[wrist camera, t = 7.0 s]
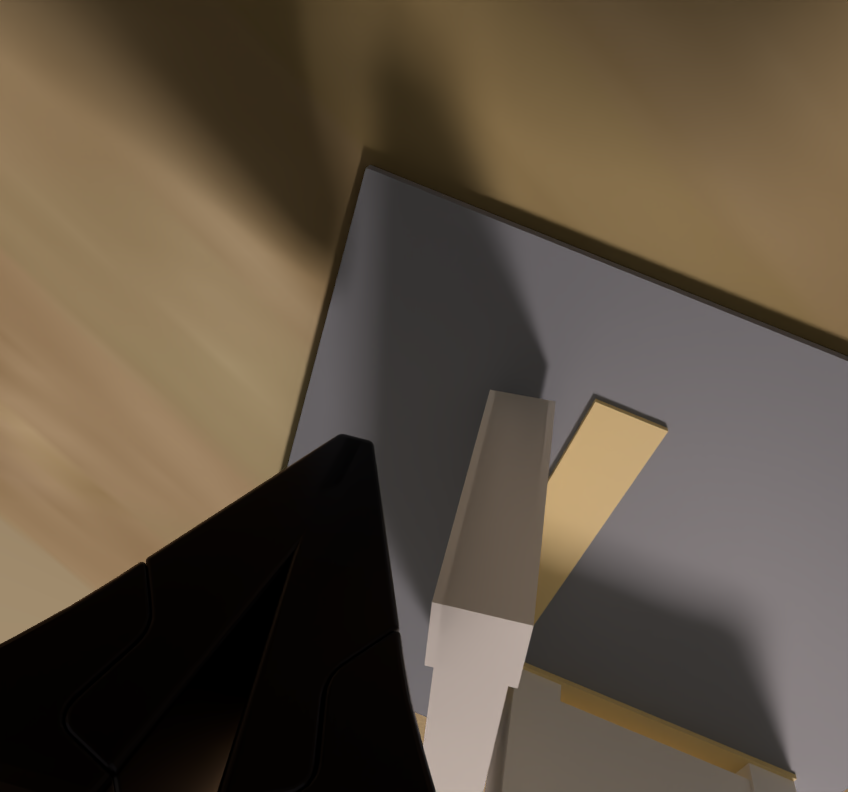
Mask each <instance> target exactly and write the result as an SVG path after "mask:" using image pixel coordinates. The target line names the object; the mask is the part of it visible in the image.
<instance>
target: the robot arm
mask: <svg viewBox="0 0 848 792" xmlns="http://www.w3.org/2000/svg"><path fill="white" fill-rule="evenodd" d="M399 629H400V627H399V620H398V613H397V606H396V599H395V592H394V584H393V577H392V570H391V563H390V556H389V549H388V542H387V535H386V527H385V520H384V513H383V506H382V499H381V492H380V485H379V478H378V470H377V463H376V456H375V449H374V444H373V443H372V442H371V441H370V440H366V439H362V438H358V437H354V436H351V435H347V434H339V435H337V436H335V437H334V438H332V439H330V440H329V441H327V442H326V443H324V444H323V445H321V446H320V447H318V448H317V449H315V450H313V451H312V452H310V453H309V454H307V455H306V456H304V457H303V458H301V459H299V460H298V461H296V462H295V463H293V464H292V465H290V466H289V467H287V468H286V469H284V470H282V471H281V472H279V473H278V474H276V475H275V476H273V477H272V478H270V479H269V480H267V481H265V482H264V483H262V484H261V485H259V486H258V487H256V488H255V489H253V490H252V491H250V492H248V493H247V494H245V495H244V496H242V497H241V498H239V499H238V500H236V501H235V502H233V503H231V504H230V505H228V506H227V507H225V508H224V509H222V510H221V511H219V512H218V513H216V514H214V515H213V516H211V517H210V518H208V519H207V520H205V521H204V522H202V523H201V524H199V525H197V526H196V527H194V528H193V529H191V530H190V531H188V532H187V533H185V534H184V535H182V536H180V537H179V538H177V539H176V540H174V541H173V542H171V543H170V544H168V545H166V546H165V547H163V548H162V549H160V550H159V551H157V552H156V553H154V554H153V555H151V556H149V557H148V558H147V559H146V564H145V563H144V562H140V563H138V564H137V565H135V566H134V567H132V568H130V569H129V570H127V571H126V572H124V573H123V574H121V575H120V576H118V577H117V578H115V579H113V580H112V581H110V582H108V583H107V584H105V585H104V586H102V587H100V588H99V589H97V590H95V591H94V592H92V593H91V594H89V595H87V596H86V597H84V598H82V599H81V600H79V601H78V602H76V603H74V604H73V605H71V606H69V607H68V608H66V609H64V610H62V611H60V612H58V613H56V614H55V615H53V616H51V617H49V618H47V619H46V620H44V621H42V622H40V623H38V624H37V625H35V626H33V627H31V628H29V629H27V630H26V631H24V632H22V633H20V634H18V635H17V636H15V637H13V638H11V639H9V640H7V641H5V642H3V643H1V644H0V792H436V790H435V787H434V783H433V780H432V776H431V773H430V769H429V766H428V762H427V759H426V755H425V752H424V748H423V744H422V740H421V736H420V732H419V728H418V724H417V720H416V716H415V712H414V708H413V704H412V699H411V694H410V688H409V682H408V677H407V671H406V666H405V660H404V653H403V646H402V639H401V634H400V633H399Z"/></svg>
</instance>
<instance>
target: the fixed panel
mask: <svg viewBox="0 0 848 792" xmlns="http://www.w3.org/2000/svg"><path fill="white" fill-rule="evenodd" d="M560 697H561V685H560V684H558V683H555V682H553V681H550V680H548V679H545V678H543V677H541V676H538V675H536V674H533V673H531V672H529V671H526V670H524V669H523V670H522V674H521V678H520V682H519V686H518V689H517V688H513V687H509V686H508V689H507V693H506V698H505V702H504V706H503V710H502V714H501V719H500V723H499V727H498V731H497V735H496V740H495V744H494V748H493V752H492V756H491V761H490V765H489V769H488V774H487V781H486V788H485V792H796V788H795V784H794V781H791V780H789V779H787V778H784V777H782V776H779V775H777V774H775V773H772V772H770V771H767V770H765V769H762V768H760V767H758V766H755V765H753V764H750V763H748V764H747V765H746V766H744V767H743V768H742V769H740V770H739V771H738V772H737V773H735V774H734V773H732V772H730V771H727V770H725V769H722V768H720V767H718V766H715V765H713V764H710V763H708V762H706V761H703V760H701V759H698V758H696V757H694V756H691V755H689V754H686V753H684V752H682V751H679V750H677V749H674V748H672V747H669V746H667V745H665V744H662V743H660V742H657V741H655V740H653V739H650V738H648V737H645V736H643V735H641V734H638V733H636V732H633V731H631V730H629V729H626V728H624V727H621V726H619V725H616V724H614V723H612V722H609V721H607V720H604V719H602V718H600V717H597V716H595V715H592V714H590V713H588V712H585V711H583V710H580V709H578V708H576V707H573V706H571V705H568V704H566V703H564V702H561V701H560Z"/></svg>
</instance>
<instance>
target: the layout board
mask: <svg viewBox="0 0 848 792" xmlns="http://www.w3.org/2000/svg"><path fill="white" fill-rule="evenodd" d="M490 390H495V391H501V392H506V393H512V394H517V395H523V396H528V397H534V398H539V399H545V400H551V401H556V402H555V412H554V422H553V433H552V443H551V453H550V463H549V473H548V484H547V494H546V504H545V514H544V524H543V535H542V545H541V555H540V565H539V575H538V586H537V596H536V606H535V616H534V626H533V630H532V634H531V638H530V642H529V646H528V650H527V654H526V658H525V662H524V666H523V669H524V670H526V671H529V672H531V673H533V674H536V675H538V676H541V677H543V678H545V679H548V680H550V681H553V682H555V683H558V684H560V685H561V697H560V701H561V702H564V703H566V704H568V705H571V706H573V707H576V708H578V709H580V710H583V711H585V712H588V713H590V714H592V715H595V716H597V717H600V718H602V719H604V720H607V721H609V722H612V723H614V724H616V725H619V726H621V727H624V728H626V729H629V730H631V731H633V732H636V733H638V734H641V735H643V736H645V737H648V738H650V739H653V740H655V741H657V742H660V743H662V744H665V745H667V746H669V747H672V748H674V749H677V750H679V751H682V752H684V753H686V754H689V755H691V756H694V757H696V758H698V759H701V760H703V761H706V762H708V763H710V764H713V765H715V766H718V767H720V768H722V769H725V770H727V771H730V772H732V773H734V774H735V773H737V772H738V771H739V770H740V769H742V768H743V767H744V766H746V765H747V764H748V763H750V764H753V765H755V766H758V767H760V768H762V769H765V770H767V771H770V772H772V773H775V774H777V775H779V776H782V777H784V778H787V779H789V780H791V781H794V784H795V788H796V792H843V791H845V790H846V789H848V356H845V355H843V354H840V353H838V352H835V351H833V350H830V349H828V348H826V347H823V346H821V345H818V344H816V343H813V342H811V341H808V340H806V339H803V338H801V337H798V336H796V335H793V334H791V333H788V332H786V331H783V330H781V329H778V328H776V327H773V326H771V325H768V324H766V323H763V322H761V321H758V320H756V319H753V318H751V317H748V316H746V315H743V314H741V313H738V312H736V311H733V310H731V309H728V308H726V307H723V306H721V305H718V304H716V303H713V302H711V301H708V300H706V299H703V298H701V297H699V296H696V295H694V294H691V293H689V292H686V291H684V290H681V289H679V288H676V287H674V286H671V285H669V284H666V283H664V282H661V281H659V280H656V279H654V278H651V277H649V276H646V275H644V274H641V273H639V272H636V271H634V270H631V269H629V268H626V267H624V266H621V265H619V264H616V263H614V262H611V261H609V260H606V259H604V258H601V257H599V256H596V255H594V254H591V253H589V252H586V251H584V250H581V249H579V248H576V247H574V246H571V245H569V244H567V243H564V242H562V241H559V240H557V239H554V238H552V237H549V236H547V235H544V234H542V233H539V232H537V231H534V230H532V229H529V228H527V227H524V226H522V225H519V224H517V223H514V222H512V221H509V220H507V219H504V218H502V217H499V216H497V215H494V214H492V213H489V212H487V211H484V210H482V209H479V208H477V207H474V206H472V205H469V204H467V203H464V202H462V201H459V200H457V199H454V198H452V197H449V196H447V195H444V194H442V193H440V192H437V191H435V190H432V189H430V188H427V187H425V186H422V185H420V184H417V183H415V182H412V181H410V180H407V179H405V178H402V177H400V176H397V175H395V174H392V173H390V172H387V171H385V170H382V169H380V168H377V167H375V166H372V165H369V166H368V167H366V169H365V173H364V177H363V181H362V185H361V188H360V192H359V196H358V200H357V204H356V207H355V211H354V215H353V219H352V223H351V226H350V230H349V234H348V238H347V242H346V245H345V249H344V253H343V257H342V261H341V264H340V268H339V272H338V276H337V280H336V283H335V287H334V291H333V295H332V299H331V302H330V306H329V310H328V314H327V318H326V321H325V325H324V329H323V333H322V337H321V340H320V344H319V348H318V352H317V356H316V359H315V363H314V367H313V371H312V375H311V379H310V382H309V386H308V390H307V394H306V398H305V401H304V405H303V409H302V413H301V417H300V420H299V424H298V428H297V432H296V436H295V439H294V443H293V447H292V451H291V455H290V458H289V462H288V466H287V467H289V466H290V465H292V464H293V463H295V462H296V461H298V460H299V459H301V458H303V457H304V456H306V455H307V454H309V453H310V452H312V451H313V450H315V449H317V448H318V447H320V446H321V445H323V444H324V443H326V442H327V441H329V440H330V439H332V438H334V437H335V436H337V435H339V434H347V435H351V436H354V437H358V438H362V439H366V440H370V441H371V442H372V443H373V444H374V449H375V456H376V463H377V470H378V478H379V485H380V492H381V499H382V506H383V513H384V520H385V527H386V535H387V542H388V549H389V556H390V563H391V570H392V577H393V584H394V592H395V599H396V606H397V613H398V620H399V627H400V629H399V633H400V634H401V639H402V646H403V653H404V660H405V666H406V671H407V677H408V682H409V688H410V694H411V699H412V704H413V708H414V712H416V713H418V714H420V715H423V716H425V717H427V713H428V706H429V698H430V690H431V683H432V675H433V667H429V666H425V665H424V664H425V656H426V647H427V639H428V631H429V622H430V614H431V605H432V600H433V596H434V593H435V589H436V585H437V582H438V578H439V574H440V571H441V567H442V563H443V560H444V556H445V552H446V549H447V545H448V541H449V538H450V534H451V530H452V527H453V523H454V519H455V516H456V512H457V508H458V505H459V501H460V497H461V494H462V490H463V486H464V483H465V479H466V476H467V472H468V468H469V465H470V461H471V457H472V454H473V450H474V446H475V443H476V439H477V435H478V432H479V428H480V424H481V421H482V417H483V413H484V410H485V406H486V402H487V399H488V395H489V391H490Z"/></svg>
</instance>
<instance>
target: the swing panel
mask: <svg viewBox="0 0 848 792" xmlns="http://www.w3.org/2000/svg"><path fill="white" fill-rule="evenodd" d="M555 402H556V401H551V400H545V399H539V398H534V397H528V396H523V395H517V394H512V393H506V392H501V391H495V390H490V391H489V395H488V399H487V402H486V406H485V410H484V413H483V417H482V421H481V424H480V428H479V432H478V435H477V439H476V443H475V446H474V450H473V454H472V457H471V461H470V465H469V468H468V472H467V476H466V479H465V483H464V486H463V490H462V494H461V497H460V501H459V505H458V508H457V512H456V516H455V519H454V523H453V527H452V530H451V534H450V538H449V541H448V545H447V549H446V552H445V556H444V560H443V563H442V567H441V571H440V574H439V578H438V582H437V585H436V589H435V593H434V596H433V600H432V605H431V614H430V622H429V631H428V639H427V647H426V656H425V664H424V665H425V666H429V667H433V675H432V683H431V690H430V698H429V706H428V713H427V721H426V728H425V736H424V744H423V748H424V752H425V755H426V759H427V762H428V766H429V769H430V773H431V776H432V780H433V783H434V787H435V790H436V792H483V790H484V786H485V782H486V777H487V773H488V769H489V765H490V761H491V756H492V752H493V748H494V744H495V740H496V735H497V731H498V727H499V723H500V719H501V714H502V710H503V706H504V702H505V698H506V693H507V689H508V686H509V687H513V688H517V689H518V686H519V682H520V678H521V674H522V670H523V666H524V662H525V658H526V654H527V650H528V646H529V642H530V638H531V634H532V630H533V626H534V616H535V606H536V596H537V586H538V575H539V565H540V555H541V545H542V535H543V524H544V514H545V504H546V494H547V484H548V473H549V463H550V453H551V443H552V433H553V422H554V412H555Z"/></svg>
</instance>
